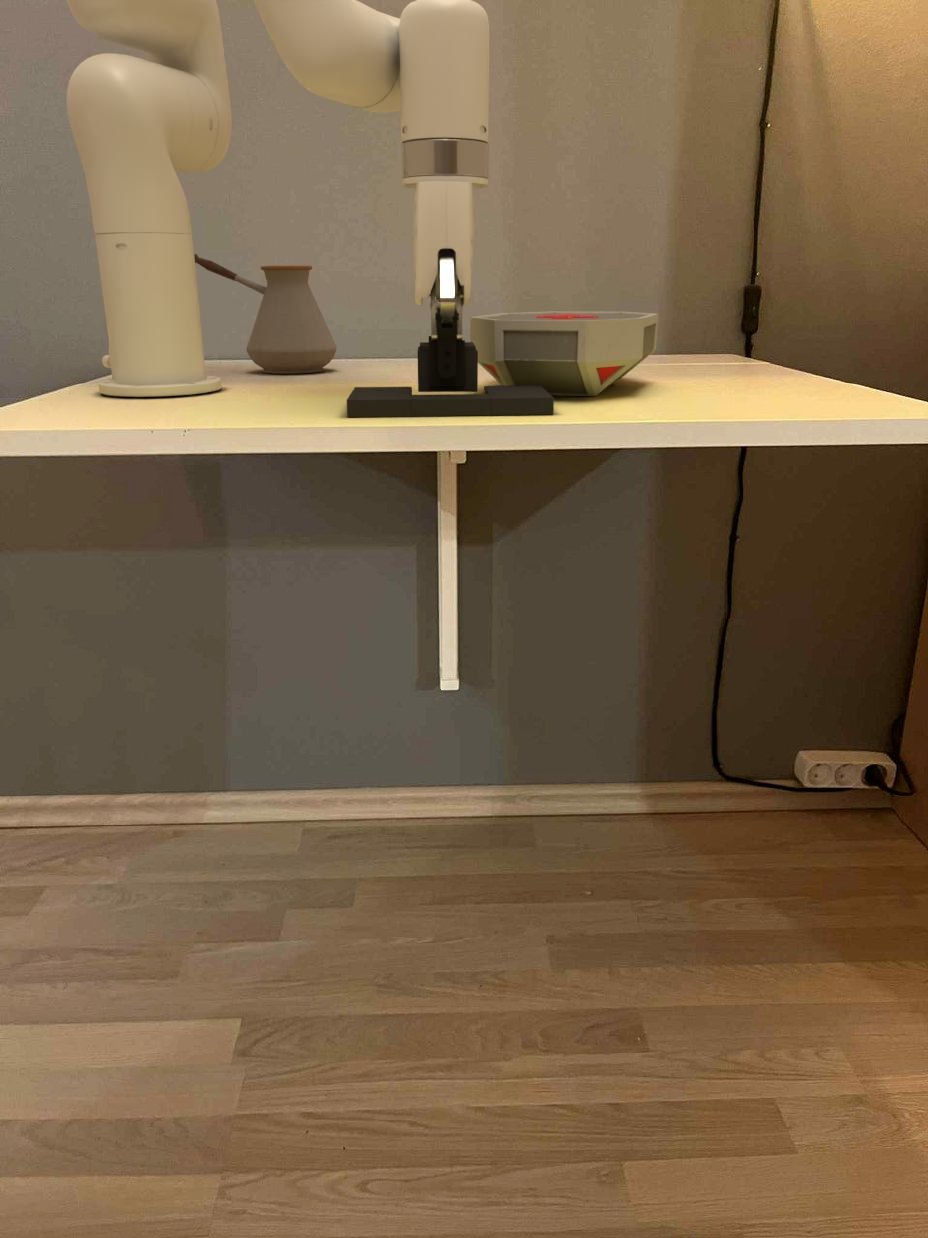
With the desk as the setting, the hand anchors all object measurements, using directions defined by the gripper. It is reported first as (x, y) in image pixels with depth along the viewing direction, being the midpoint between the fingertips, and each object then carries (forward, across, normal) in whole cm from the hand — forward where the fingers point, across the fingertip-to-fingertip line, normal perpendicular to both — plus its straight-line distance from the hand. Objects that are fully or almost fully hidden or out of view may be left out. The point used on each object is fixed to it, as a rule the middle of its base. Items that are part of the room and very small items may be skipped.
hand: (446, 380), depth 88 cm
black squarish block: (+1, 0, 0) cm, 1 cm away
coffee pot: (+3, -39, -24) cm, 46 cm away
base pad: (+2, +2, 0) cm, 3 cm away
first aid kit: (+2, -14, +13) cm, 19 cm away
